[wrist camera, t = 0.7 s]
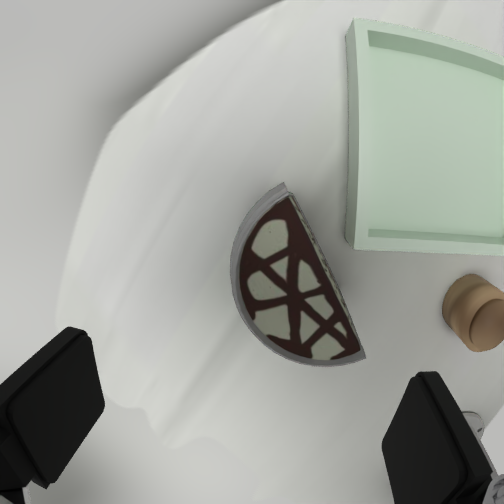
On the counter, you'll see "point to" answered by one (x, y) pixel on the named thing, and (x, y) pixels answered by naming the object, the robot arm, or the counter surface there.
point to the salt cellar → (475, 312)
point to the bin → (423, 142)
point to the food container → (290, 286)
